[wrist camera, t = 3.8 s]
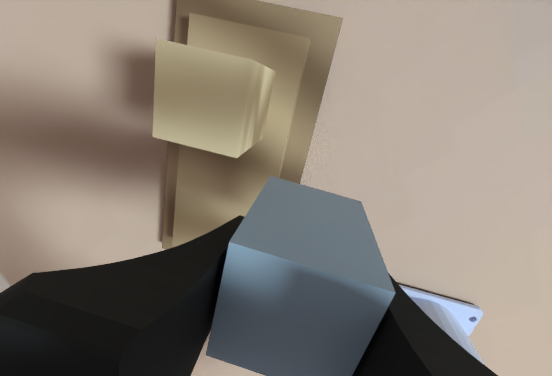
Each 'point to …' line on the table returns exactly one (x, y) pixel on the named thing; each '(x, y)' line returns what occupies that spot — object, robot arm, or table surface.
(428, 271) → the table surface
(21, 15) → the table surface
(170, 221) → the plinth
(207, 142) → the brass block
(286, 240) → the slate block
